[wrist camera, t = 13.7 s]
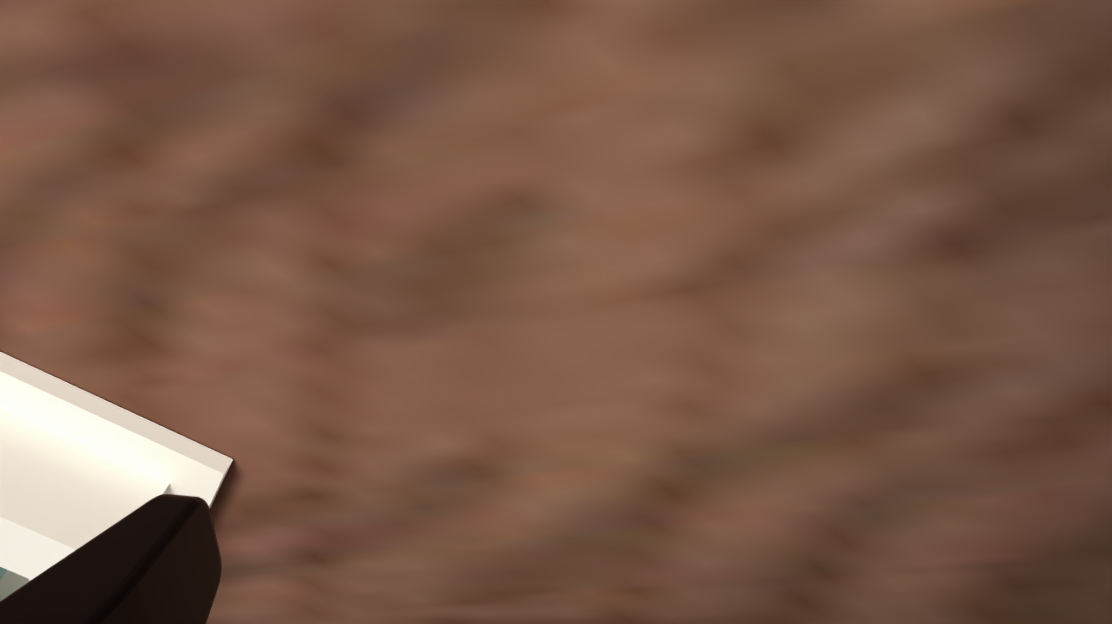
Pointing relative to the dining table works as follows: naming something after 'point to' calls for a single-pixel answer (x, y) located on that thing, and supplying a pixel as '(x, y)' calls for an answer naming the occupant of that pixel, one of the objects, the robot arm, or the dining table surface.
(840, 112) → the dining table surface
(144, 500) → the socket
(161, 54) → the dining table surface
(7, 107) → the dining table surface
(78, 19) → the dining table surface
